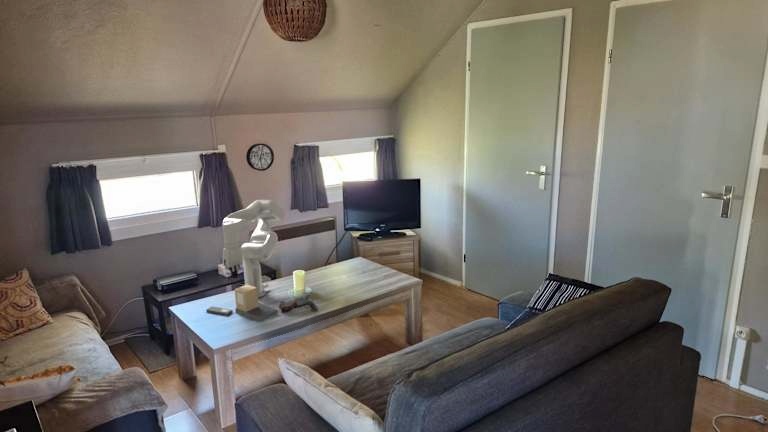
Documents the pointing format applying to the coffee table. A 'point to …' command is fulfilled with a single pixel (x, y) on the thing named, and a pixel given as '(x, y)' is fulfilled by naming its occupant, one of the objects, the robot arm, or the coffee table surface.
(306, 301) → the toy gun
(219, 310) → the remote
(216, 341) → the coffee table surface
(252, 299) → the carton
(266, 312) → the podium
